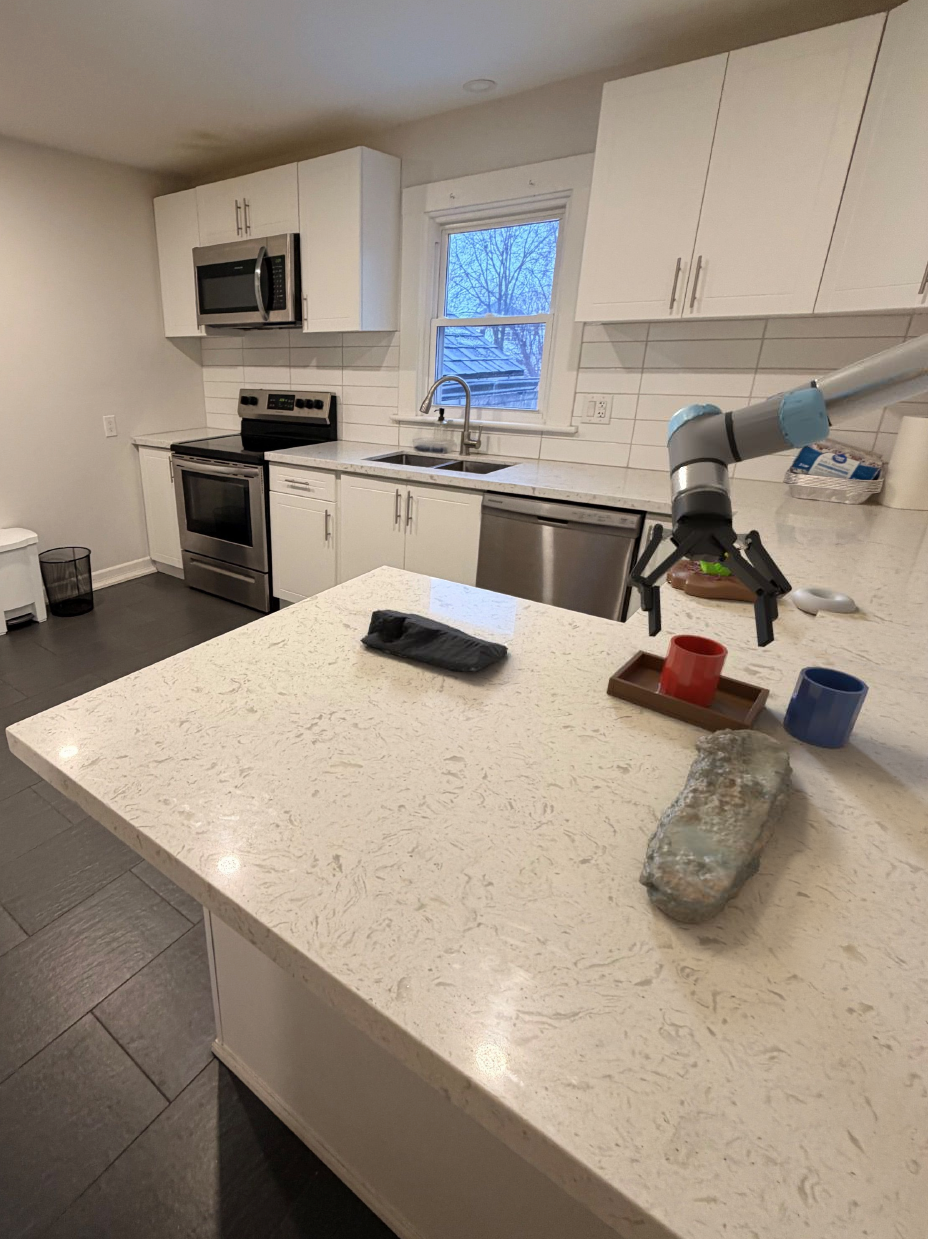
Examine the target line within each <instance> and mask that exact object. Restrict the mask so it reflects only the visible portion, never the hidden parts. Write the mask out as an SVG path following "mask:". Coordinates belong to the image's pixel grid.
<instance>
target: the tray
mask: <svg viewBox="0 0 928 1239" xmlns="http://www.w3.org/2000/svg"><path fill="white" fill-rule="evenodd" d="M665 658H666V657H665V656H661V655H658V654H654V653H651V652H648V651H644V650H641V649H640V650H638V651H637V652H636V653H635V654H634V655H633V656H632V657H630V658H629V659H628V660H627V661H626V662H625V663H624V664H623V665H622V666H621V667H620V668H618V669H617V670H616V671H615V672H614V673H613V674H612V675H611V676H610V677H609V679H608V682H607V688H606V692H605V693H606V694H607V695H610V696H613V697H616V698H618V699H620V700H621V699H622V700H624V701H627V702H630V703H633V704H635V705H637V706H640V707H643V708H646V709H649V710H652V711H655V712H658V713H660V714H663V715H666V716H668V717H672V718H674V719H676V720H680V721H682V722H686V723H687V724H688V723H689V724H691V725H693V726H696V727H699V728H702V729H705V730H708V731H709V732H713V733H715V732H716V731H717V730H719V731H720V730H726V729H727V728H728V729H731V730H733V731H735V730H737V731H738V730H752V729H753V727H754V726H755V724H756V722H757V720H758V719H759V717H760V715H761V714H762V712H763V710H764V708H765V707H766V704H767V700H768V698H769V696H770V692H771V689H768V688H766V687H761V686H759V685H755V684H752V683H749V682H745V681H742V680H738V679H736V678H732V677H729V676H726V675H721V678H720V682H719V685H718V689H717V692H716V695H715V699H714V701H713V704H712V705H711V706H709V707H707V708H704V707H701V706H698V705H695V704H692V703H689V702H686V701H684V700H681V699H678V698H675V697H672V696H669V695H666V694H663V693H660V692H659V691H658V687H659V681H660V678H661V674H662V670H663V666H664V662H665Z"/></svg>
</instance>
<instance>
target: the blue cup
mask: <svg viewBox="0 0 928 1239" xmlns="http://www.w3.org/2000/svg"><path fill="white" fill-rule="evenodd" d="M799 671H800V672H799V674H798V677H797V680H796V683H795V685H794V689H793V691H792V694H791V697H790V700H789V703H788V705H787V709H786V711H785V714H784V717H783V721H782V727H783V729H784V730H785V732H787V733H788V734H789V735H791V736H792V737H794V738H796V739H798V740H799V741H801V742H804V743H806V744H809V745H813V746H815V747H820V748H825V749H841V748H844V747H846V746H847V744H848V742H849V740H850V738H851V735H852V732H853V730H854V727H855V725H856V723H857V720H858V718H859V715H860V712H861V710H862V707H863V705H864V702H865V700H866V697H867V695H868V692H869V690H870V687H869V686H868V685H867V683H866V682H865V681H863V680H861V679H860V678H858V677H856V676H855V675H852V674H849V673H847V672H845V671H841V670H837V669H833V668H829V667H822V666H807V667H803V668H801V670H799Z"/></svg>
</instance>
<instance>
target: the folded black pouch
mask: <svg viewBox="0 0 928 1239" xmlns="http://www.w3.org/2000/svg"><path fill="white" fill-rule="evenodd" d="M369 622H370V623H369V626H368V630H367V633H366V635H365V636H364V637H362V638H361V639H359V641H360V642H361V644H362V645H365V646H367V647H369V648H370V647H371V648H372V647H373V648H378V649H380V650H382V651H383V652H387V653H389V654H392V655H396V656H400V657H401V658H407V659H408V658H411V659H415V660H418V661H419V662H423V663H428V665H435V666H436V667H441V668H445V669H448V670H452V671H454V672H458V671H460V672H461V671H464V672H477V671H479V670H480V669H482V668H485V667H486V666H488V665H490V664H492V663H494V662H495V661H499V660H501V659H502V658H503V657H505V656H506V655H507V654H508V650H509V648H508V647H507V646H506V645H503V644H501V643H498V642H493V641H488V640H485V639H482V638H478V637H476V636H473V635H470V634H469V633H466V632H465V631H462V630H461V629H458V628H456V627H453V626H450V625H448V624H446V623H442V622H440V621H437V620H434V619H431V618H428V617H426V616H423V615H420V614H416V613H407V612H401V611H398V610H393V609H377V610H374V611H372V613H371V618H370V621H369ZM397 639H398V641H396V640H397ZM394 641H396V642H394Z"/></svg>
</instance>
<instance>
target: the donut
mask: <svg viewBox="0 0 928 1239" xmlns="http://www.w3.org/2000/svg"><path fill="white" fill-rule="evenodd" d="M791 596H792V597H791V601H792V603H793V605H794V606H795V607H797V608H798V609H800V610H802V611H804V612H806V613H809V614H812V615H815V616H816V615H818V613H819V612H820V611H824V612H828V613H829V612H830V613H838V614H840V613H841V614H842V613H843V614H847V613H853V612H855V611H856V609H857V605H856V601H855V600H854V599H853V598H852V597H851V596H849V595H848V594H845V593H843V592H840V591H837V590H833V589H829V588H823V587H817V586H816V587H815V586H813V587H812V586H811V587H809V586H808V587H801V588H799V589H797V590H795V591H794V592H793V594H792V595H791Z"/></svg>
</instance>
